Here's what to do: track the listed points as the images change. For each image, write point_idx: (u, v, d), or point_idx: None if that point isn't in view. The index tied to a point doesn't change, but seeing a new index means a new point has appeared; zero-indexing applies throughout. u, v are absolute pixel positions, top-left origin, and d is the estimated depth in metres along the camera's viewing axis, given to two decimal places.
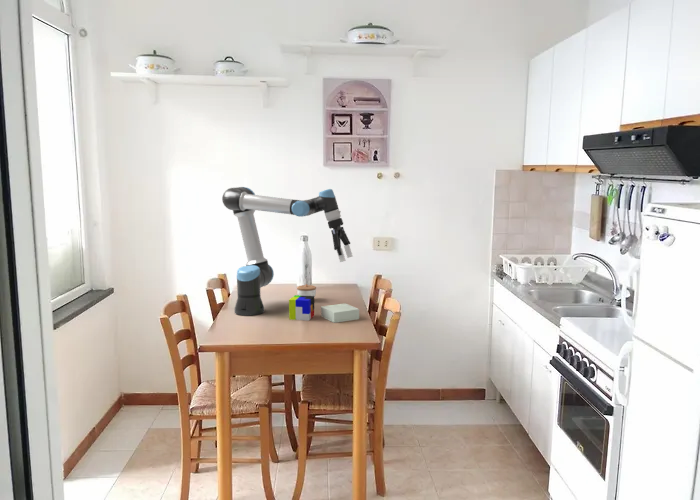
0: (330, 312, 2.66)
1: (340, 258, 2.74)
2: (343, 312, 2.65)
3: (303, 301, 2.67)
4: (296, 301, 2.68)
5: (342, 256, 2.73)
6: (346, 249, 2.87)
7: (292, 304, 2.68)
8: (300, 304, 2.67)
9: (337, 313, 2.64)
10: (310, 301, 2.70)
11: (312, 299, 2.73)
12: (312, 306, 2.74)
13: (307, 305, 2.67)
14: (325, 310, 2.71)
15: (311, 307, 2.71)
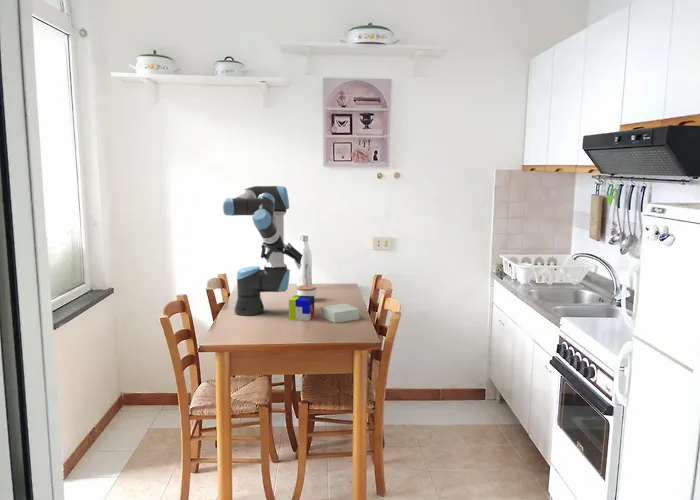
0: (330, 312, 2.66)
1: None
2: (343, 312, 2.65)
3: (303, 301, 2.67)
4: (296, 301, 2.68)
5: None
6: None
7: (292, 304, 2.68)
8: (300, 304, 2.67)
9: (337, 313, 2.64)
10: (310, 301, 2.70)
11: (312, 299, 2.73)
12: (312, 306, 2.74)
13: (307, 305, 2.67)
14: (325, 310, 2.71)
15: (311, 307, 2.71)
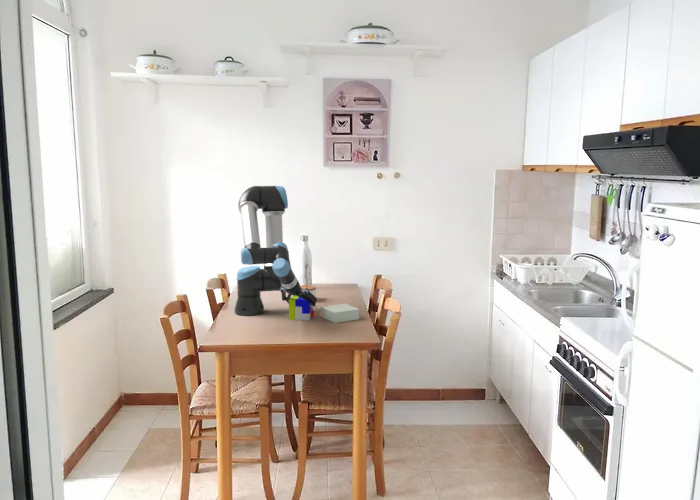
0: (330, 312, 2.66)
1: None
2: (343, 312, 2.65)
3: (303, 301, 2.67)
4: (296, 301, 2.68)
5: None
6: None
7: (292, 304, 2.68)
8: (300, 304, 2.67)
9: (337, 313, 2.64)
10: None
11: None
12: None
13: (307, 305, 2.67)
14: (325, 310, 2.71)
15: None
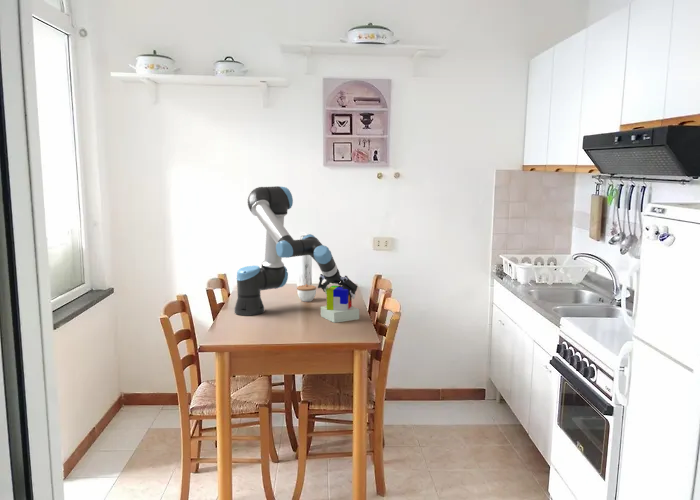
0: (330, 312, 2.66)
1: None
2: (343, 312, 2.65)
3: (341, 291, 2.66)
4: (334, 291, 2.66)
5: None
6: None
7: (330, 294, 2.67)
8: (338, 294, 2.66)
9: (337, 313, 2.64)
10: (348, 291, 2.68)
11: None
12: (350, 297, 2.72)
13: (345, 295, 2.65)
14: (325, 310, 2.71)
15: (349, 297, 2.70)
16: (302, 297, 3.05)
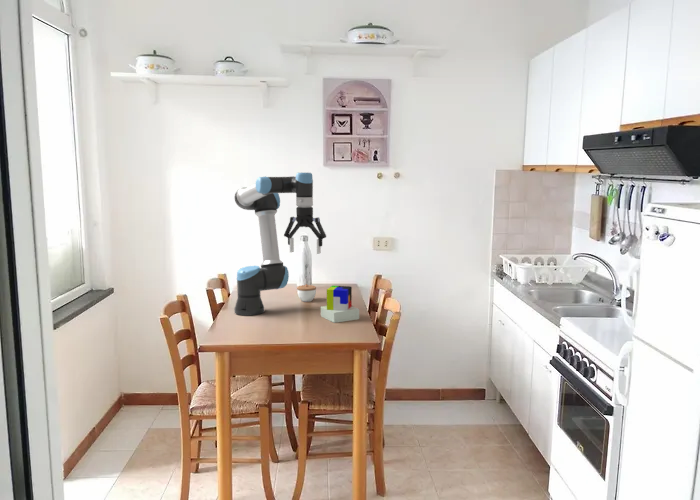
0: (330, 312, 2.66)
1: None
2: (343, 312, 2.65)
3: (341, 291, 2.66)
4: (334, 291, 2.66)
5: None
6: None
7: (330, 294, 2.67)
8: (338, 294, 2.66)
9: (337, 313, 2.64)
10: (348, 291, 2.68)
11: (350, 289, 2.71)
12: (350, 297, 2.72)
13: (345, 295, 2.65)
14: (325, 310, 2.71)
15: (349, 297, 2.70)
16: (302, 297, 3.05)
